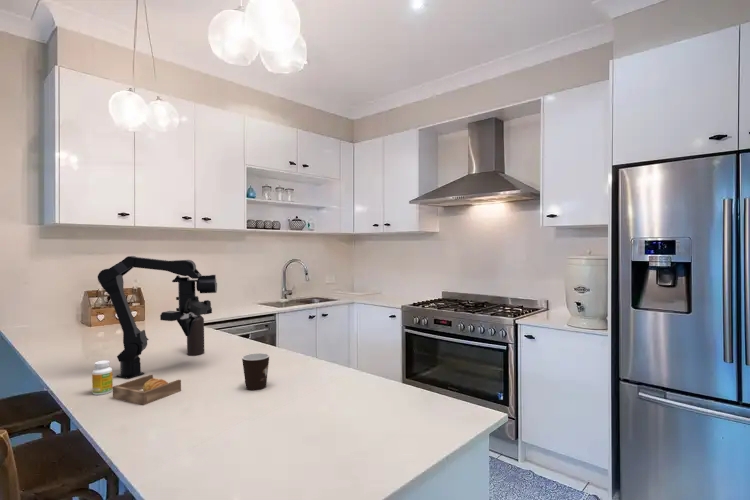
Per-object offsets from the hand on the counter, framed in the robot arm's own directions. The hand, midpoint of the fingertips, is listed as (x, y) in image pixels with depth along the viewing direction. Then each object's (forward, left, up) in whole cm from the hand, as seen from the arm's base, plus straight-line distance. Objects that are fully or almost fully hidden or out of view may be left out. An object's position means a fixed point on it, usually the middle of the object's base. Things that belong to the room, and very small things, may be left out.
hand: (187, 336), depth 155 cm
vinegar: (-17, +19, -13) cm, 29 cm away
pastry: (+8, -19, -14) cm, 25 cm away
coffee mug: (+35, -2, -13) cm, 37 cm away
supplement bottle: (-7, -27, -13) cm, 31 cm away
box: (+8, -22, -13) cm, 27 cm away
